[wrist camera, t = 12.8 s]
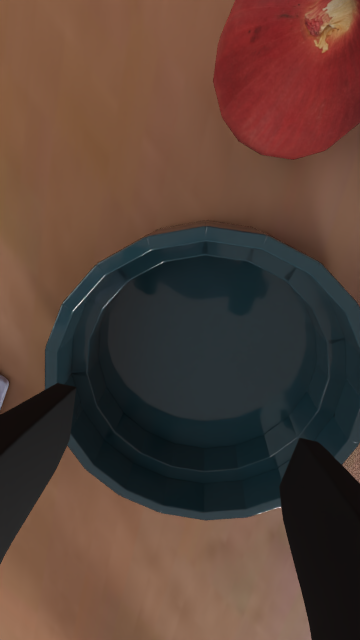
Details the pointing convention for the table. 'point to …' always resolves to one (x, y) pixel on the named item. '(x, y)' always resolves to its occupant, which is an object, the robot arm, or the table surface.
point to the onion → (290, 74)
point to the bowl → (206, 368)
